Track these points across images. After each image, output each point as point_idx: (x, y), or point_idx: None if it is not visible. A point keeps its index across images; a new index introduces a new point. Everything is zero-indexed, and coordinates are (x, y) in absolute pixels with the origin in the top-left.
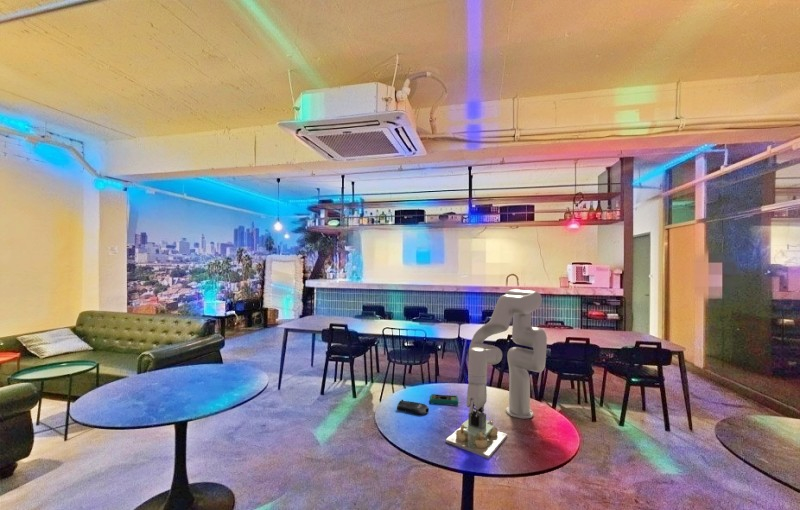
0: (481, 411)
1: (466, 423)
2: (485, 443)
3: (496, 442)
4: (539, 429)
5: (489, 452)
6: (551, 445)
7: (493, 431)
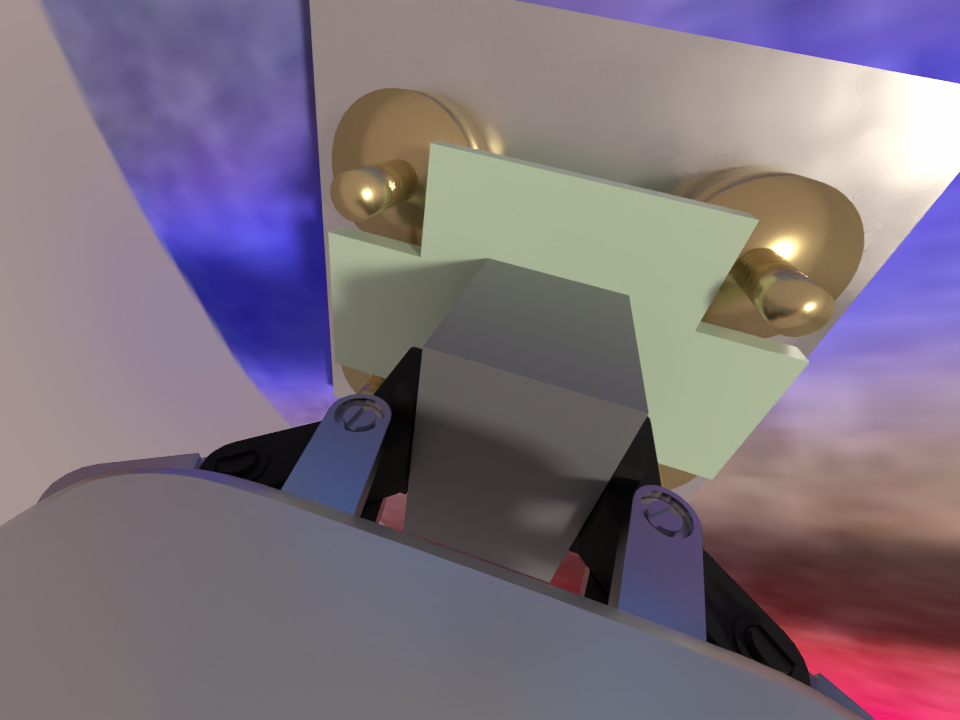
0: (588, 548)
1: (529, 219)
2: None
3: None
4: (857, 650)
5: None
6: None
7: None
